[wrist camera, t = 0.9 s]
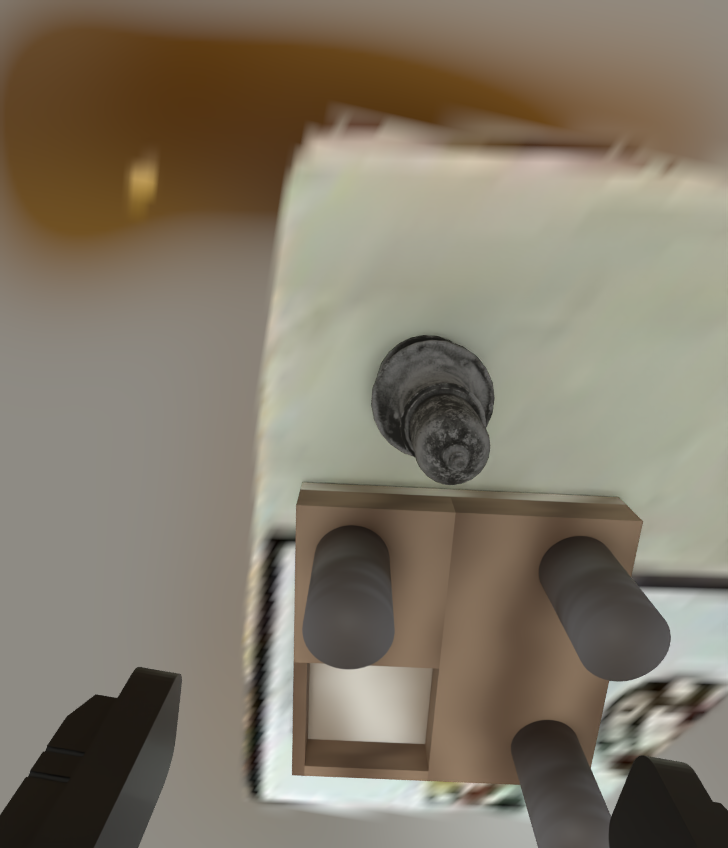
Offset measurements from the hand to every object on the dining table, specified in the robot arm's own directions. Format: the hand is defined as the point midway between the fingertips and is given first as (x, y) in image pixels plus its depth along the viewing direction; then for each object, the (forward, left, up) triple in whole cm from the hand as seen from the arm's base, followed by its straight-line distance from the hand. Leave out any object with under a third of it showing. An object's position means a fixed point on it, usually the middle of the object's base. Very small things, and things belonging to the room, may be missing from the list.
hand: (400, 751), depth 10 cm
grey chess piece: (-3, -1, -23) cm, 23 cm away
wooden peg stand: (-5, +14, -22) cm, 27 cm away
